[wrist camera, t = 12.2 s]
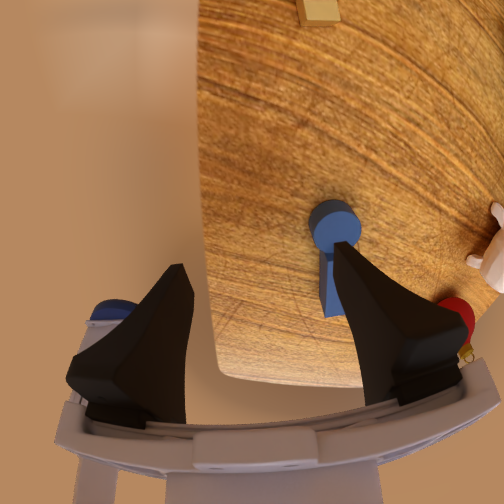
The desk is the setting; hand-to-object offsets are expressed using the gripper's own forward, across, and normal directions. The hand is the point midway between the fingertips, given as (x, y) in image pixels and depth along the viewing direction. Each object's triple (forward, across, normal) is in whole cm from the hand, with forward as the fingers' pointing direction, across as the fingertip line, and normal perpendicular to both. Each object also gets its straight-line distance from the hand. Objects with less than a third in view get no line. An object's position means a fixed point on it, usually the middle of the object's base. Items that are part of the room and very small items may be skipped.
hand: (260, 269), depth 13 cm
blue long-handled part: (+9, -6, +7) cm, 13 cm away
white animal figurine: (+10, -28, +8) cm, 31 cm away
